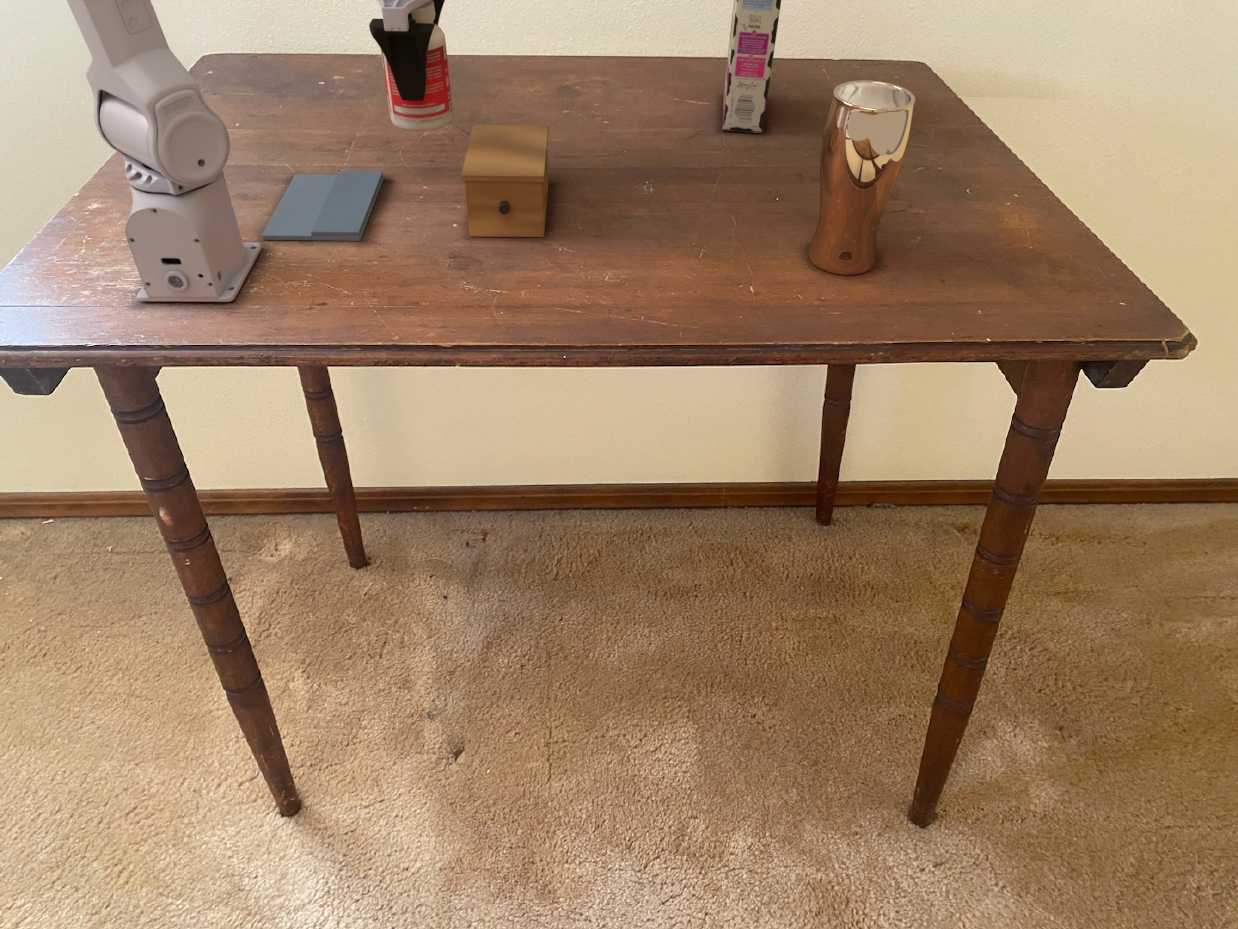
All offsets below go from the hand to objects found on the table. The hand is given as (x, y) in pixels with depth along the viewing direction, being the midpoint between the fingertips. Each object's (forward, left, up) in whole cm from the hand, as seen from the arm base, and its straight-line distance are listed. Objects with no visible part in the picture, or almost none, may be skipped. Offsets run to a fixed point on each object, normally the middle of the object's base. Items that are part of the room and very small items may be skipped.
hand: (418, 86), depth 91 cm
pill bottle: (0, 0, -4) cm, 4 cm away
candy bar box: (+18, -35, -9) cm, 40 cm away
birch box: (-7, -9, -9) cm, 15 cm away
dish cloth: (-7, +9, -9) cm, 15 cm away
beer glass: (-16, -40, -9) cm, 44 cm away
